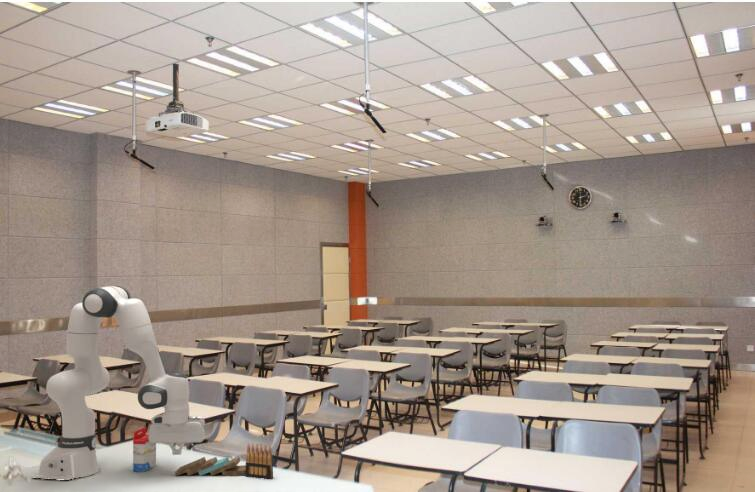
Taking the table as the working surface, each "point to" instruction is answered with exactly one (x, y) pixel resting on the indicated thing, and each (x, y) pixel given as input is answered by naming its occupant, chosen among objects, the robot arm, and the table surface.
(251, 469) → the pencil set
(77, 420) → the robot arm
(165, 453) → the table surface
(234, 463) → the domino
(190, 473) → the domino
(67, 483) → the table surface
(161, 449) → the table surface
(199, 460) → the domino
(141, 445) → the ink box
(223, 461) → the domino
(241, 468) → the domino
